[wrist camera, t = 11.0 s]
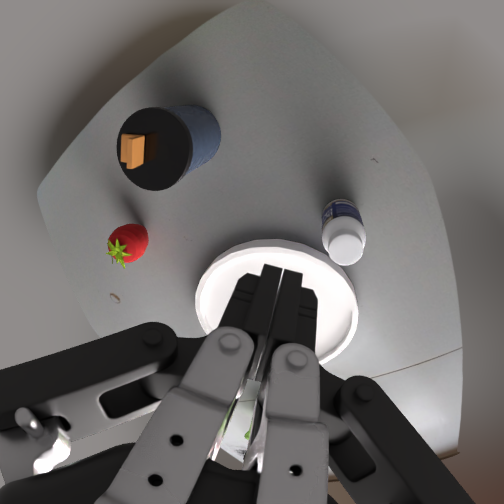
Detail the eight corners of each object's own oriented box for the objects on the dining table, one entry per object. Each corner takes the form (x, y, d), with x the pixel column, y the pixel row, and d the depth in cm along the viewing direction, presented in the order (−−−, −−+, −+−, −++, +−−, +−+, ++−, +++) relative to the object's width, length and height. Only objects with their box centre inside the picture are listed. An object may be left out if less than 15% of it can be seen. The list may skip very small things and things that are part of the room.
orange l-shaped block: (145, 135, 27) (133, 139, 25) (143, 163, 29) (131, 169, 27) (124, 133, 28) (111, 137, 26) (123, 160, 29) (110, 166, 27)
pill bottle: (324, 195, 38) (326, 224, 30) (362, 201, 37) (374, 232, 29) (318, 230, 41) (318, 267, 32) (355, 236, 40) (363, 274, 32)
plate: (386, 272, 41) (389, 281, 39) (319, 375, 56) (318, 384, 54) (213, 214, 43) (208, 221, 41) (192, 335, 58) (187, 343, 56)
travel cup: (227, 107, 35) (194, 111, 25) (217, 172, 40) (185, 198, 30) (164, 101, 36) (118, 106, 26) (159, 162, 40) (115, 184, 31)
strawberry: (168, 236, 47) (137, 269, 38) (137, 249, 49) (106, 280, 41) (151, 206, 44) (115, 233, 36) (121, 221, 47) (86, 248, 39)
